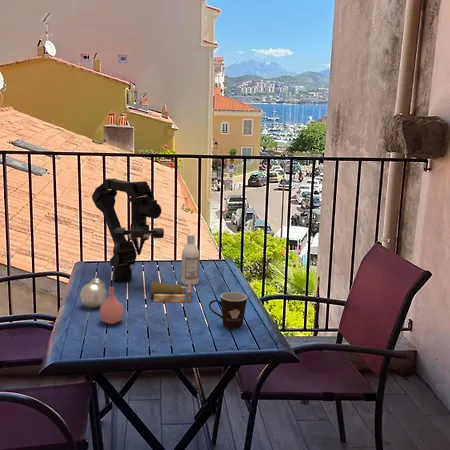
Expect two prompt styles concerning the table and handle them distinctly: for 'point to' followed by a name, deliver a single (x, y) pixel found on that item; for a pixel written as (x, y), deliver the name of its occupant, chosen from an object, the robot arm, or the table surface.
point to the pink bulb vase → (111, 309)
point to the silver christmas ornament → (93, 293)
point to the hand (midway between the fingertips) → (139, 254)
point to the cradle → (174, 296)
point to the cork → (164, 288)
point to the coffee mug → (232, 309)
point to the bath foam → (190, 262)
